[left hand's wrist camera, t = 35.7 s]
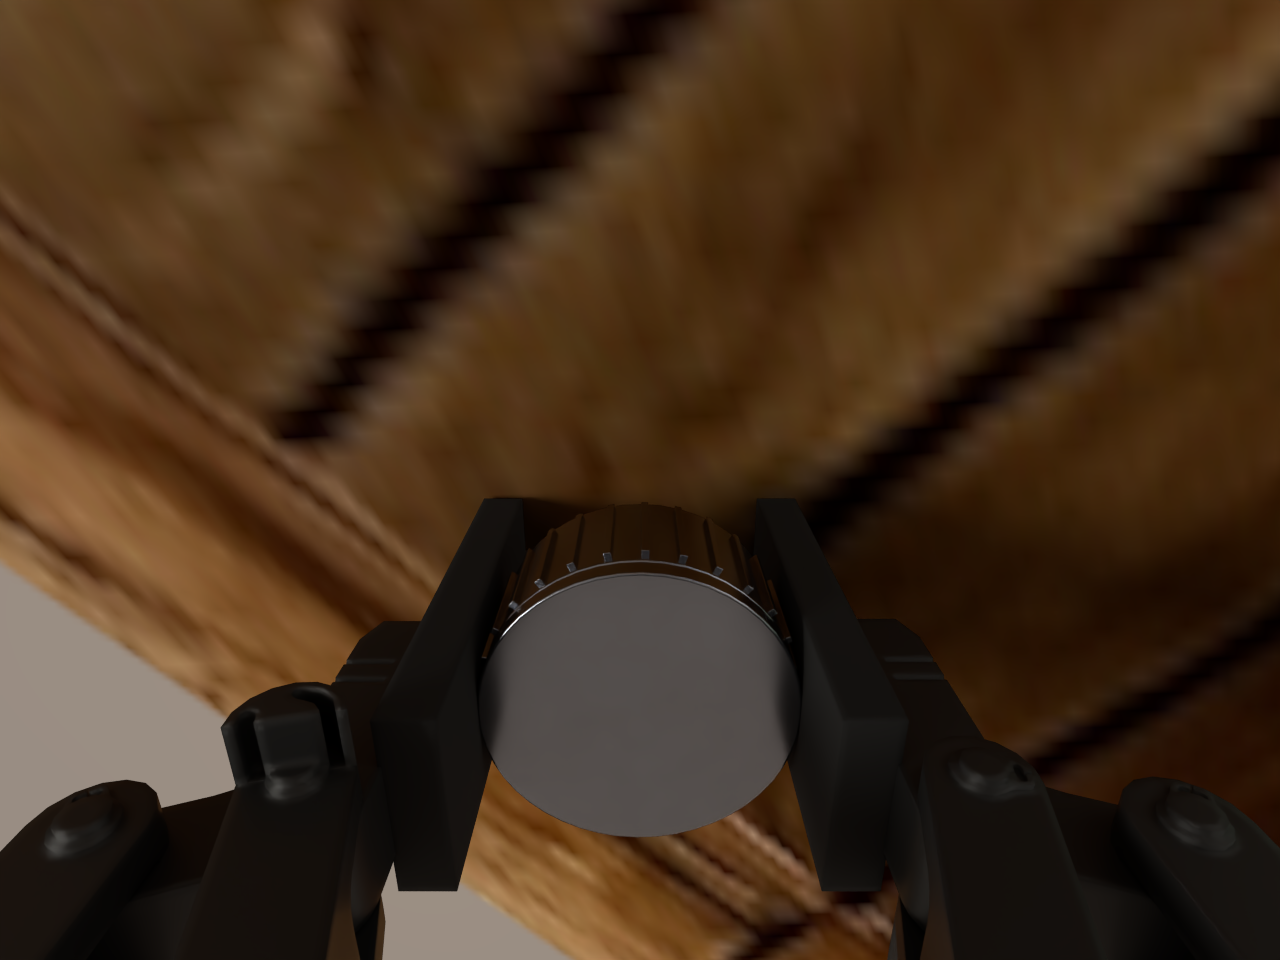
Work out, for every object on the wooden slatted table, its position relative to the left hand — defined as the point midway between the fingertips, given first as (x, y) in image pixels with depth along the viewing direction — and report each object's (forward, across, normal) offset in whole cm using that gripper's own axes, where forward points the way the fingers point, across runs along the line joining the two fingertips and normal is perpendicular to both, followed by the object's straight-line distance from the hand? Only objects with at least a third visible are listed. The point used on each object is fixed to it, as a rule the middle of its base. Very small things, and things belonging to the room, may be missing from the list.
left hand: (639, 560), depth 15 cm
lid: (-4, 0, 0) cm, 4 cm away
